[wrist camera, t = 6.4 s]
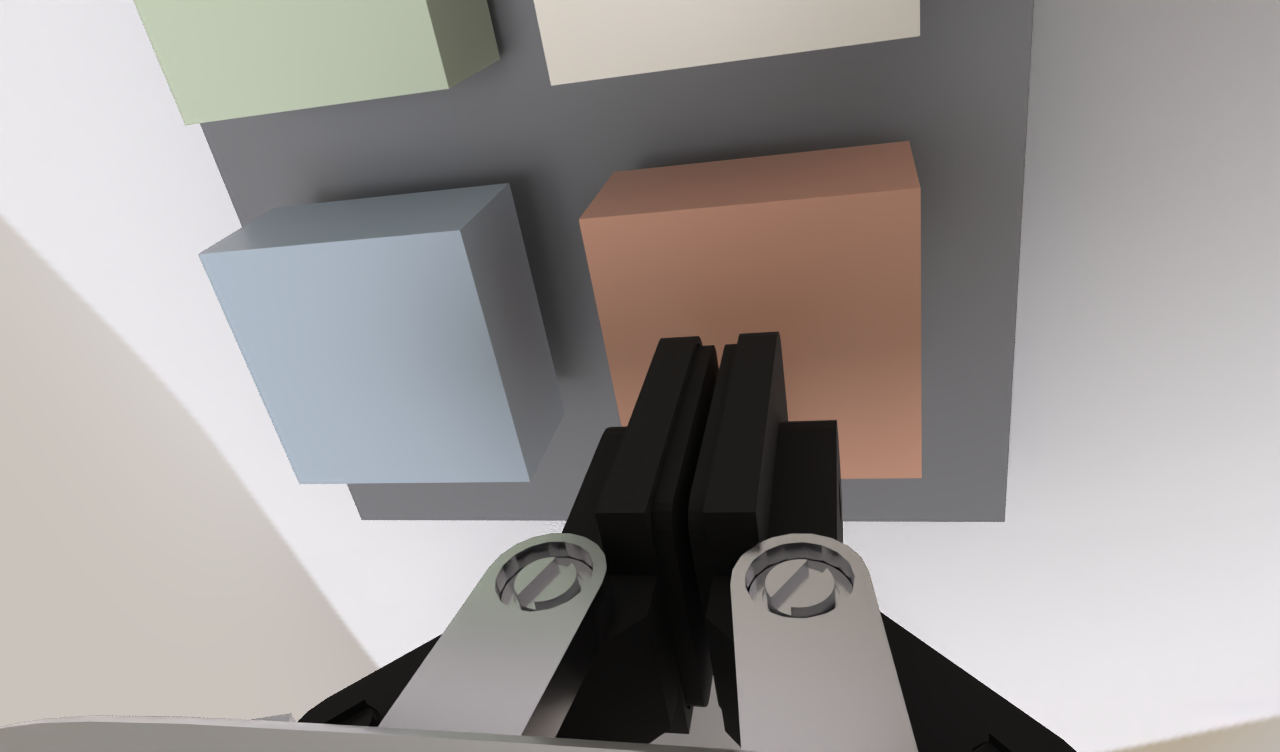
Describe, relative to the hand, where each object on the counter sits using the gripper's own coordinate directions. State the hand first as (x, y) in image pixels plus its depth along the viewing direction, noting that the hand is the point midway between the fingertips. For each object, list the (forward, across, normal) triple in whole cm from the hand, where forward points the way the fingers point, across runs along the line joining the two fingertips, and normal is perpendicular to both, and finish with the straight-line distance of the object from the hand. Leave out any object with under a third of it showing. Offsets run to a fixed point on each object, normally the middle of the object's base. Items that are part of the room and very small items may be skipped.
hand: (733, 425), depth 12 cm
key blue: (+4, +7, 0) cm, 8 cm away
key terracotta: (+4, 0, 0) cm, 4 cm away
